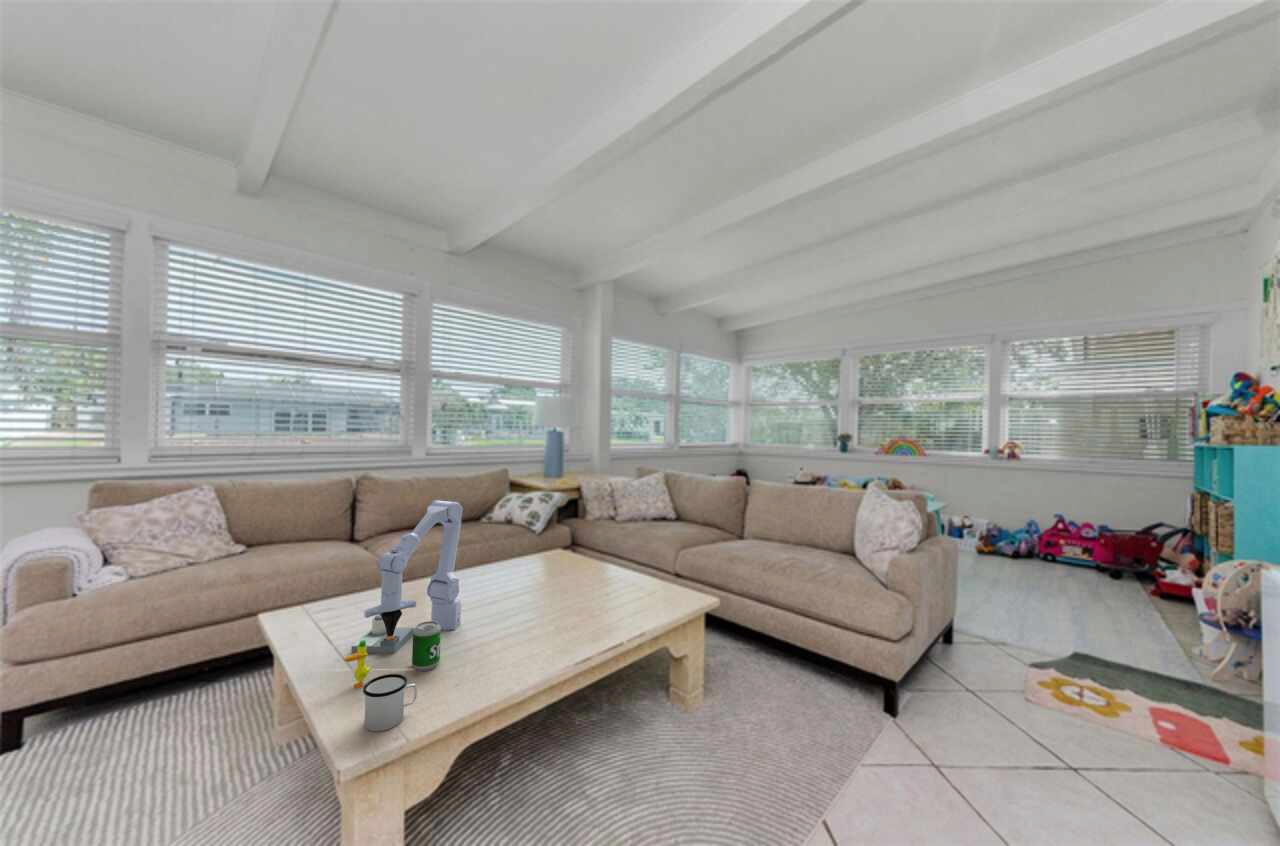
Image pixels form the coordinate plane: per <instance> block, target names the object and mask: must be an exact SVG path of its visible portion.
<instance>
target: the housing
mask: <svg viewBox="0 0 1280 846" xmlns="http://www.w3.org/2000/svg"><path fill="white" fill-rule="evenodd" d="M413 630H414V627H395V631H394V634H395V639H394V640H393V641H385V636H386V634H387V633H386V634H385V635H372V628H371V629H370V630H369V631H367V633H366V634H364V635H363V636H362V637H360V638H359V639H358V640H357V641H355V642H354V643H353V644H352V645H351V654H355V653H358V645H359V644H360V641H362V640H365V641H366V643H365V644H367V645H366V653H367V654H396V653H397V652H398V651H399V649H401V647H402V646H403V645H404V644H405V643H406V642H407V641H408V640H409V639H410V638H411V637H413Z"/></svg>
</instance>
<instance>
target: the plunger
mask: <svg viewBox="0 0 1280 846" xmlns="http://www.w3.org/2000/svg"><path fill="white" fill-rule="evenodd" d="M394 639H395V634H394V635H393V636H388V635H387V634H386V636H385V641H393V640H394Z"/></svg>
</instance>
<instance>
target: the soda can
mask: <svg viewBox="0 0 1280 846" xmlns="http://www.w3.org/2000/svg"><path fill="white" fill-rule="evenodd" d="M441 631H442V629H441V627H440V625H438V623H437V622H433V621H431V620H430V621H424V622H420V623H418V624H417V625H416V626H415V627H413V634H412V648H411V649H412V655H411V657H412V658H411V666H412V667H413V668H414V669H415V671H418V672H427V671H430V670H432V669H434V668H436V667H437V665H438V664H439V663H440V661H441V639H442V638H441V635H442V634H441V633H442V632H441Z"/></svg>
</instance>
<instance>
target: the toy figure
mask: <svg viewBox="0 0 1280 846" xmlns="http://www.w3.org/2000/svg"><path fill="white" fill-rule="evenodd" d="M365 643H366V641H365V640H362V641H360V644H359V645H358V653H351V654H349V655H346V656H345V657H344V658H343V661H345V662H347V663H351V662H354V661H357V667H356V668H355V670H354V679H355V680H356V681H357V682H355V683H354V684H353V687H354V689H359V688H361V687H362V688H363V687H364V684H363V683H362V682H363V681H365V679H366V678H367V675H368V674H369V672H370V671H371V669H372V666H369V667H367V666H366V664H365V663H366V657H368V656H369V653H366V645H367V644H365Z"/></svg>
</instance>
